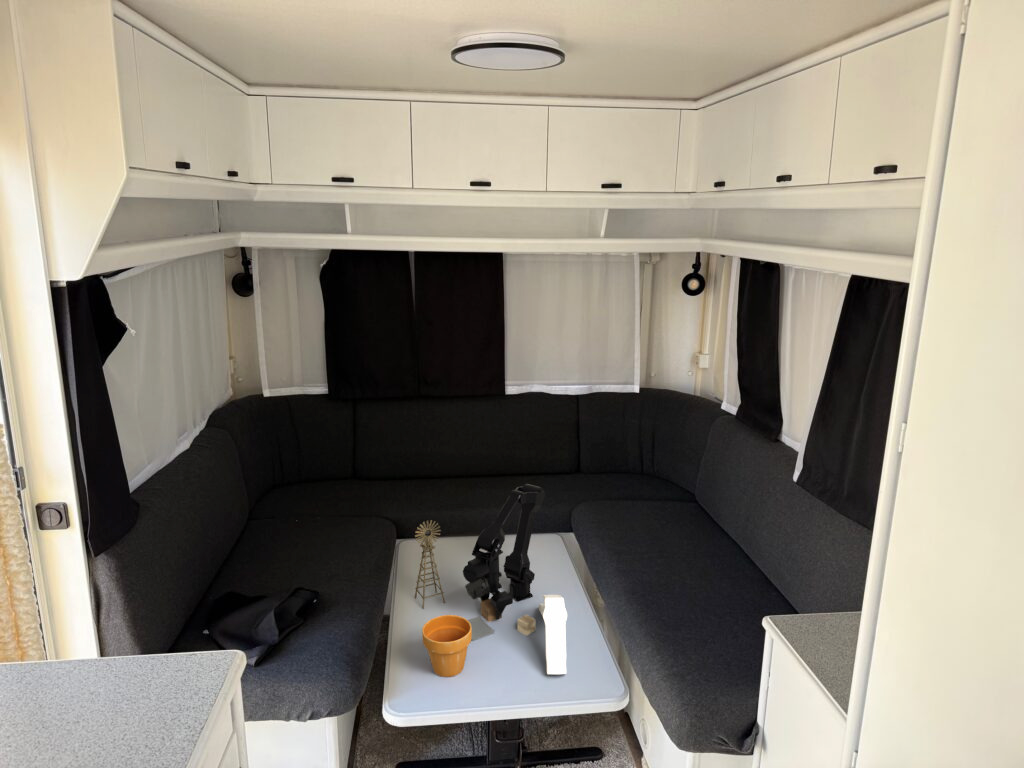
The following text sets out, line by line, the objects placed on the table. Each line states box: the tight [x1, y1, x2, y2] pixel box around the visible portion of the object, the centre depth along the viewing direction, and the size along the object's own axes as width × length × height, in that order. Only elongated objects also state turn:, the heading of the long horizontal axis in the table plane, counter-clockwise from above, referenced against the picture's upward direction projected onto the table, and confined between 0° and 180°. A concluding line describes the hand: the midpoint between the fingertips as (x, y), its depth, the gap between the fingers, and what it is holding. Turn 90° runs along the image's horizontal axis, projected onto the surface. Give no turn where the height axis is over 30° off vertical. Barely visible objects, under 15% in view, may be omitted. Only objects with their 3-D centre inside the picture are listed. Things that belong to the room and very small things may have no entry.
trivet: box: [467, 616, 495, 642], centre depth 221 cm, size 8×10×1 cm
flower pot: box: [421, 614, 472, 678], centre depth 201 cm, size 14×14×13 cm
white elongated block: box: [538, 594, 568, 675], centre depth 214 cm, size 7×33×21 cm, turn 1°
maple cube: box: [517, 614, 536, 637], centre depth 220 cm, size 4×4×4 cm
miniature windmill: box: [414, 519, 446, 610], centre depth 235 cm, size 9×8×30 cm
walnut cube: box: [480, 597, 503, 623], centre depth 228 cm, size 5×5×5 cm
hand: (491, 613), depth 228 cm, fingers open, 8 cm apart
